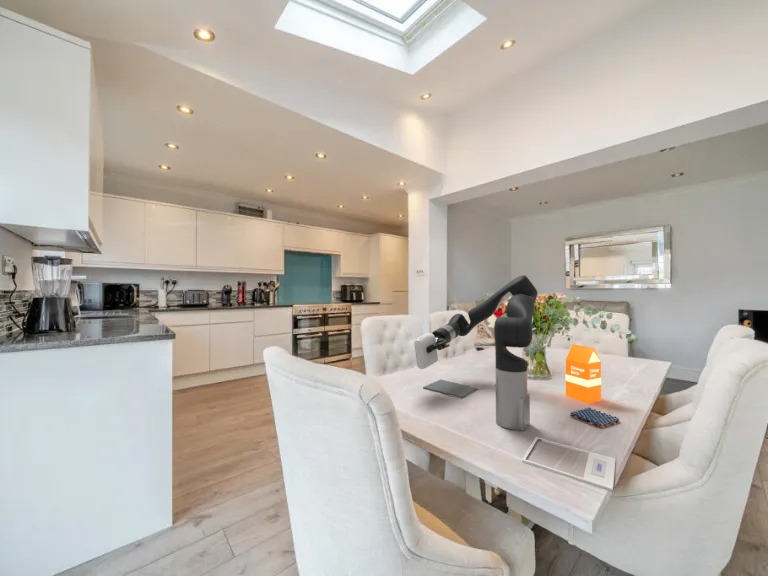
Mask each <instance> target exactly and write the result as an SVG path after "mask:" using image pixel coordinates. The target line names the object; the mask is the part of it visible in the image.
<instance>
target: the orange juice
mask: <svg viewBox="0 0 768 576" xmlns="http://www.w3.org/2000/svg"><path fill="white" fill-rule="evenodd" d="M565 397H568V398H571V399H573V400H576V401H579V402H582V403H585V404H592V403H596V402H600V401H602V361H601V359H600V357H599V355H598V353H597V350H596V348H595V347H592V346H591V347H590V346H586V345H585V346H584V345H580V344H571V346H570V348H569V351H568V353H567V356H566V358H565Z"/></svg>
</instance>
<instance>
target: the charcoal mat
mask: <svg viewBox="0 0 768 576" xmlns="http://www.w3.org/2000/svg"><path fill="white" fill-rule="evenodd" d="M422 389H423V390H424V389H425V390H428V391H432V392H437V393H440V394H444V395H448V396H452V397H455V398H459V399H463V398H465V397H468V396H469V395H470V394H472V393H474V392H476V391H478V390H479V387H478V386H477V387H476V386H472V385H467V384H462V383H458V382H454V381H449V380H445V379H438V380H435V381H434V382H431V383H429V384H427V385H425V386H423V388H422Z"/></svg>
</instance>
